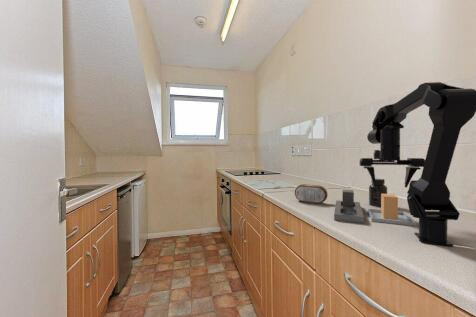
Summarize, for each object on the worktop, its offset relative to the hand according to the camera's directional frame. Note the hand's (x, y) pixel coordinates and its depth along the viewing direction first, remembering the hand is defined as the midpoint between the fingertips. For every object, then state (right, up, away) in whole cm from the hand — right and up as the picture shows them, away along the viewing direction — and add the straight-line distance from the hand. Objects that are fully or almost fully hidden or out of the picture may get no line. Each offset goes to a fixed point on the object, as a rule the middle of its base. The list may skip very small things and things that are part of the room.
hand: (389, 186), depth 78 cm
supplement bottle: (+8, -11, +19) cm, 23 cm away
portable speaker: (-19, -11, +27) cm, 35 cm away
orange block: (0, -11, 0) cm, 11 cm away
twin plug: (-9, -11, +12) cm, 19 cm away
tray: (0, -12, 0) cm, 12 cm away
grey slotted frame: (-11, -12, +7) cm, 18 cm away
